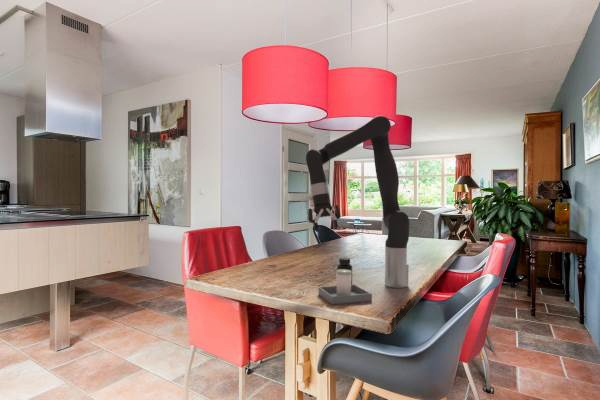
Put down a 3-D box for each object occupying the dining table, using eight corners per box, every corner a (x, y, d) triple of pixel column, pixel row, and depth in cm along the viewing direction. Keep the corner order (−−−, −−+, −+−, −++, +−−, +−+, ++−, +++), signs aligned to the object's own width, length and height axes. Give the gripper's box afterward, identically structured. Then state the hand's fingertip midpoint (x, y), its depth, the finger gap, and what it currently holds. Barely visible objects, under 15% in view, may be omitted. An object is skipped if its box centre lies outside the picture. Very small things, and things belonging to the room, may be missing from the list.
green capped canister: (347, 294, 137) (347, 269, 137) (353, 298, 131) (354, 272, 131) (333, 295, 135) (334, 269, 135) (339, 299, 130) (340, 272, 130)
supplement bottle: (342, 282, 157) (342, 256, 157) (355, 285, 152) (355, 258, 152) (333, 285, 152) (334, 258, 151) (347, 288, 147) (347, 260, 147)
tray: (354, 291, 142) (354, 284, 142) (371, 301, 129) (371, 293, 129) (318, 294, 138) (318, 287, 138) (332, 305, 124) (332, 297, 124)
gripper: (307, 194, 147) (314, 232, 145) (338, 190, 151) (344, 227, 149) (302, 197, 154) (308, 233, 152) (332, 194, 158) (338, 229, 156)
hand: (326, 230), depth 151 cm, fingers open, 8 cm apart
